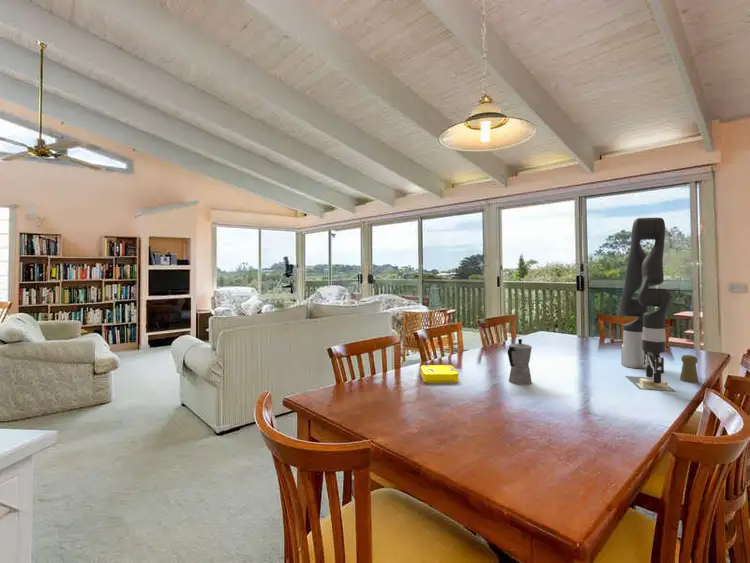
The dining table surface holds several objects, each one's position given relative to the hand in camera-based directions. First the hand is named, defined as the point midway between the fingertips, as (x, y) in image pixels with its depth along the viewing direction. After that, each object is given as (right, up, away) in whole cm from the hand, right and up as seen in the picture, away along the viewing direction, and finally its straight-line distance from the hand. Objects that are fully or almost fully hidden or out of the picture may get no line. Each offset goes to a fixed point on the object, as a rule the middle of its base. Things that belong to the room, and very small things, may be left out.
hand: (653, 380), depth 153 cm
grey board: (+2, -3, +5) cm, 6 cm away
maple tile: (0, -3, 0) cm, 3 cm away
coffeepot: (-49, -4, +10) cm, 50 cm away
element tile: (-82, -4, +17) cm, 84 cm away
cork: (+20, -3, +8) cm, 22 cm away
